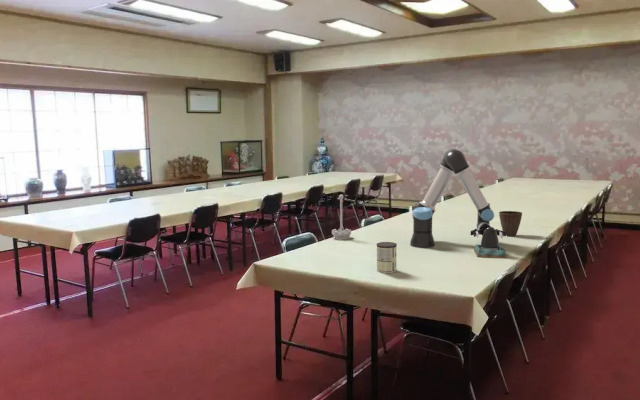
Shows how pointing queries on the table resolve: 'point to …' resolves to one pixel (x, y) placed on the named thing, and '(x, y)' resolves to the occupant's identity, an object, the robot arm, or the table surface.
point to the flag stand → (341, 226)
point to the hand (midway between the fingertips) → (489, 235)
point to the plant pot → (510, 221)
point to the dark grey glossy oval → (489, 239)
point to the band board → (490, 252)
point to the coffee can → (386, 257)
